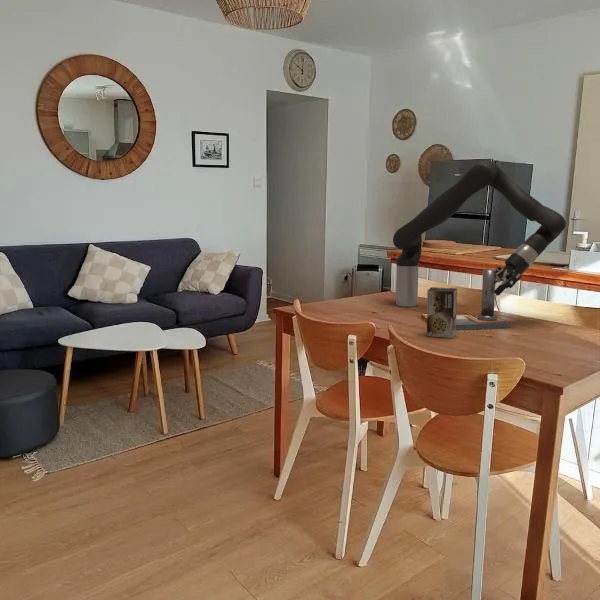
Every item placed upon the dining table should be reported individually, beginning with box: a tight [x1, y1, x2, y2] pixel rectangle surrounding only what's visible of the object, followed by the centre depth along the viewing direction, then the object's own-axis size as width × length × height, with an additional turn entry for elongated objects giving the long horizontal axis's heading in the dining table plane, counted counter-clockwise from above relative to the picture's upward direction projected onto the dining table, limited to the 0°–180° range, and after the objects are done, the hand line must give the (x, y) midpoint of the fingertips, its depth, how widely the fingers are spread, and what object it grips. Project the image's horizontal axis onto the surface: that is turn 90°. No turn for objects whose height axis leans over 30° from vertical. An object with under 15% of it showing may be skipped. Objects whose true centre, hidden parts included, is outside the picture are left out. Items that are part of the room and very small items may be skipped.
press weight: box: [476, 268, 498, 321], centre depth 209 cm, size 7×7×18 cm
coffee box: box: [426, 286, 458, 339], centre depth 197 cm, size 9×6×16 cm
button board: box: [456, 316, 511, 332], centre depth 211 cm, size 10×22×2 cm, turn 99°
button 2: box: [467, 316, 507, 324], centre depth 211 cm, size 8×11×2 cm
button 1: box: [456, 315, 468, 324], centre depth 209 cm, size 5×5×2 cm
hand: (490, 291), depth 209 cm, fingers open, 8 cm apart
